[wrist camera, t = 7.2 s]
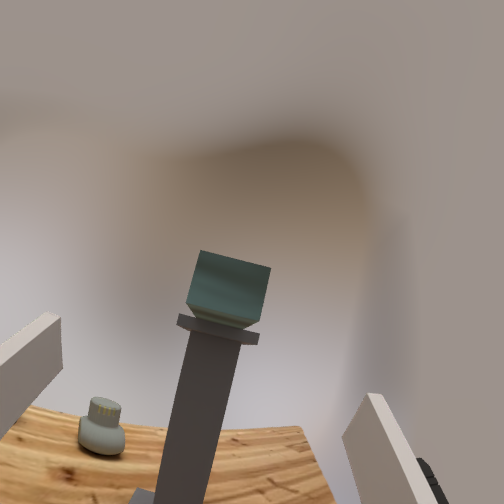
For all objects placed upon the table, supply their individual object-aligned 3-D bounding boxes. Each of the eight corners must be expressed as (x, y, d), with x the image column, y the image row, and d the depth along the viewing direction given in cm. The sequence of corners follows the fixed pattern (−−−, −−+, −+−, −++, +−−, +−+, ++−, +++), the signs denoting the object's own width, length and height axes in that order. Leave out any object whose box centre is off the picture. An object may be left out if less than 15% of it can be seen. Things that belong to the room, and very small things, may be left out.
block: (259, 321, 16) (271, 267, 17) (185, 302, 16) (200, 249, 17) (231, 334, 41) (236, 313, 42) (202, 327, 41) (208, 306, 42)
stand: (222, 583, 17) (290, 339, 25) (105, 555, 16) (149, 303, 25) (217, 517, 32) (261, 341, 40) (135, 497, 31) (173, 319, 40)
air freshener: (77, 432, 47) (84, 388, 50) (115, 441, 50) (123, 399, 53) (78, 455, 37) (85, 405, 40) (124, 465, 41) (132, 417, 44)
